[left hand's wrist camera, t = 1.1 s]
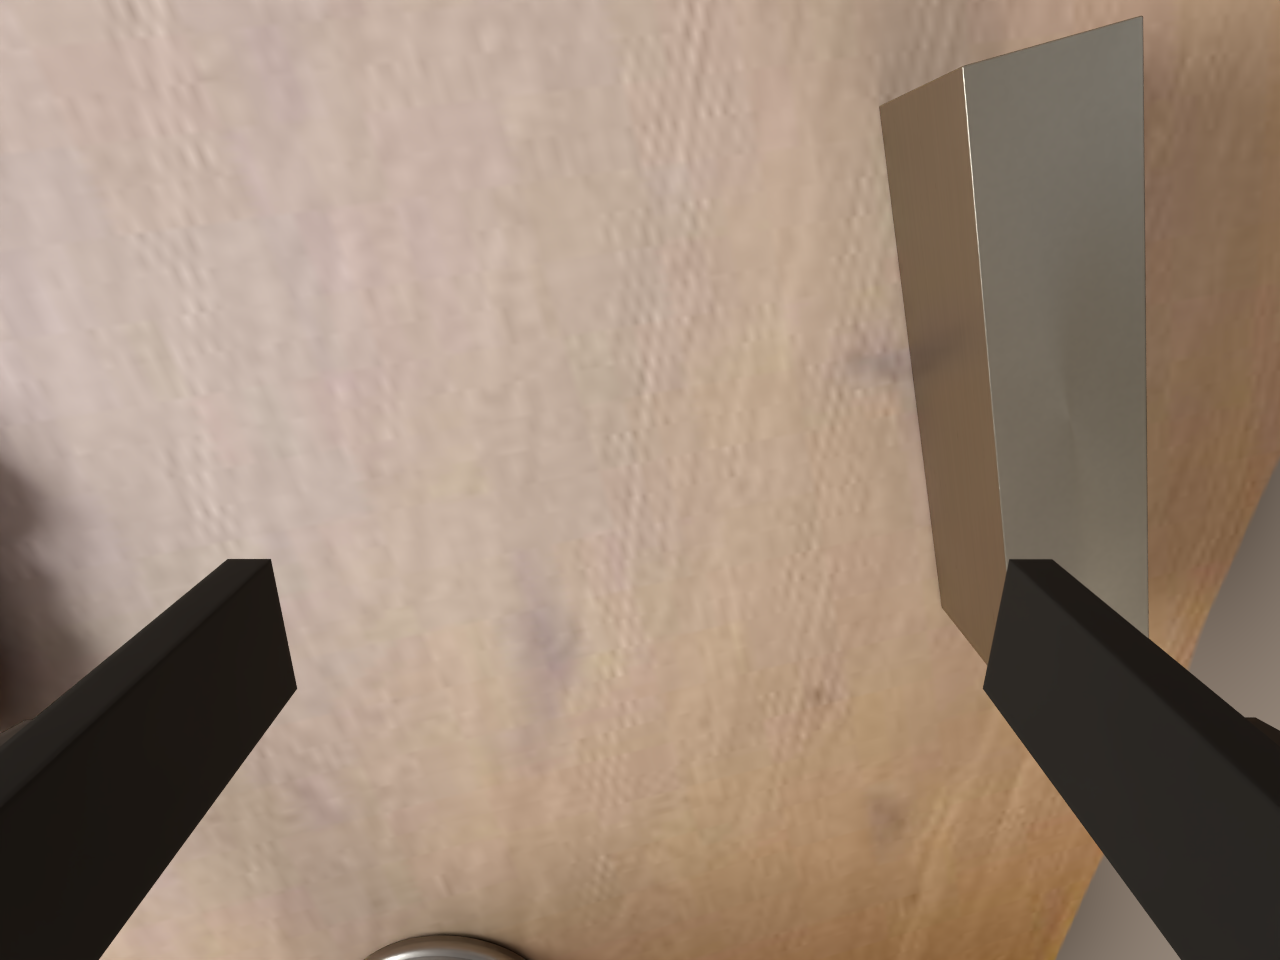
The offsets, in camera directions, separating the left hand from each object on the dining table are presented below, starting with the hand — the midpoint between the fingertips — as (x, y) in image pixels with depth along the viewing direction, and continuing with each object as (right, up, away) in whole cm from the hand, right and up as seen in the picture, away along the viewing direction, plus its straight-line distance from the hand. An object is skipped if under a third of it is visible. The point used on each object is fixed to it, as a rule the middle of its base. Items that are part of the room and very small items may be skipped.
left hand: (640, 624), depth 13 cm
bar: (+16, +8, +21) cm, 28 cm away
